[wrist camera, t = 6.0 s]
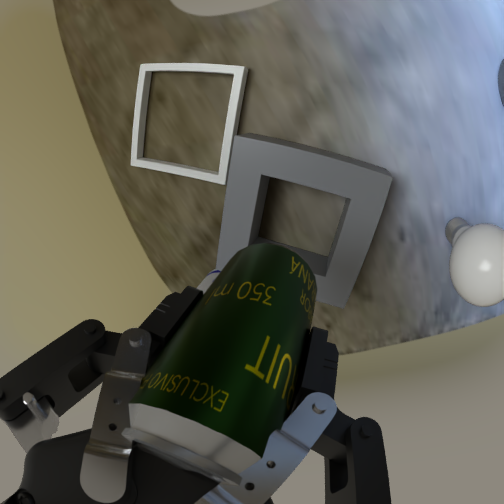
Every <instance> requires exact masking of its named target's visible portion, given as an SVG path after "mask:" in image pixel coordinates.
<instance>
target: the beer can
mask: <svg viewBox="0 0 504 504" xmlns="http://www.w3.org/2000/svg"><path fill="white" fill-rule="evenodd" d="M316 296H317V284H316V278H315V275H314V274H313V272H312V270H311V268H310V267H309V265H308V263H307V262H306V261H305V260H304V259H303V258H302V257H301V256H300V255H299V254H298V253H297V252H295V251H294V250H292V249H290V248H288V247H286V246H283V245H279V244H273V243H262V244H255V245H249V246H247V247H245V248H243V249H241V250H239V251H237V253H236V254H235V255H234V256H233V257H232V258H231V259H230V260H229V261H228V263H227V264H226V265H225V267H224V268H223V269H222V271H221V272H220V273H219V275H218V276H217V277H216V279H215V280H214V281H213V282H212V284H211V285H210V286H209V288H208V289H207V290H206V292H205V293H204V294H203V296H202V297H201V298H200V300H199V301H198V302H197V304H196V305H195V306H194V308H193V309H192V310H191V312H190V313H189V314H188V316H187V317H186V318H185V320H184V321H183V322H182V324H181V325H180V327H179V328H178V329H177V331H176V332H175V333H174V335H173V336H172V337H171V339H170V340H169V341H168V343H167V344H166V345H165V347H164V348H163V349H162V351H161V352H160V354H159V355H158V356H157V358H156V359H155V360H154V362H153V363H152V364H151V366H150V367H149V368H148V370H147V372H146V374H145V376H144V378H143V380H142V382H141V385H140V388H139V390H138V391H137V392H136V394H135V395H134V397H133V398H132V399H131V401H130V402H129V415H130V425H131V428H126V427H125V429H124V430H123V432H122V433H121V434H122V435H123V436H125V437H127V438H129V439H131V440H134V441H136V442H135V447H136V448H138V449H140V450H142V451H144V452H146V453H148V454H150V455H152V456H154V457H156V458H158V459H160V460H162V461H164V462H166V463H169V464H171V465H173V466H175V467H177V468H180V469H184V470H189V471H195V472H199V473H201V474H202V475H204V476H206V477H208V478H210V479H212V480H214V481H216V482H218V483H219V484H220V483H221V482H222V481H223V480H225V481H227V482H229V483H233V484H236V485H239V486H240V483H241V480H242V477H241V476H239V475H238V474H239V473H241V472H243V471H244V470H246V469H247V468H249V467H250V466H252V465H253V464H255V463H256V462H258V461H259V460H261V459H262V458H263V455H264V452H265V449H266V446H267V442H268V439H269V436H270V435H271V434H272V433H273V432H274V431H275V430H276V429H278V430H281V429H282V426H283V423H284V422H285V421H286V420H287V419H288V418H289V416H290V415H291V412H292V408H293V404H294V400H295V396H296V392H297V388H298V383H299V379H300V375H301V370H302V366H303V362H304V357H305V352H306V348H307V343H308V338H309V333H310V328H311V323H312V318H313V312H314V307H315V301H316ZM114 431H115V430H114ZM266 465H267V467H268V468H270V465H269V463H267V464H266ZM245 489H246V490H249V491H251V490H252V487H251V486H250V485H249V484H245Z"/></svg>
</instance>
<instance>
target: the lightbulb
mask: <svg viewBox="0 0 504 504" xmlns="http://www.w3.org/2000/svg"><path fill="white" fill-rule="evenodd" d="M445 234H446V237H447V239H448V240H449V242H450V243H451V244H452V251H451V255H450V261H449V270H450V277H451V280H452V283H453V286H454V288H455V289H456V291H457V292H458V294H459V295H460V296H461V297H462V298H463V299H464V300H465V301H467V302H468V303H470V304H472V305H475V306H480V307H487V306H492V305H495V304H497V303H499V302H501V301H502V300H504V230H503V229H502V228H500V227H498V226H496V225H493V224H488V223H482V224H476V225H474V226H470V225H469V224H468V223H467V222H466V221H465V220H464V219H462V218H459V217H457V218H453V219H452V220H450V221H449V223H448V224H447V226H446V230H445Z"/></svg>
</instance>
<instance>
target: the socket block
mask: <svg viewBox="0 0 504 504" xmlns="http://www.w3.org/2000/svg"><path fill="white" fill-rule="evenodd" d="M270 177H274V178H278V179H282V180H286V181H290V182H293V183H297V184H301V185H305V186H308V187H312V188H315V189H319V190H322V191H326V192H329V193H333V194H336V195H339V196H343V197H346V198H347V199H346V202H345V205H344V209H343V212H342V215H341V219H340V222H339V225H338V228H337V231H336V235H335V238H334V241H333V244H332V247H331V250H330V253H329V256H328V257H326V256H323V255H319V254H316V253H313V252H309V251H306V250H302V249H299V248H296V247H292V246H289V245H285V244H282V243H279V242H275V241H272V240H268V239H265V238H261V237H258V235H259V230H260V225H261V220H262V215H263V210H264V205H265V200H266V195H267V190H268V185H269V180H270ZM392 179H393V177H392V176H391V175H390V173H389V172H388V171H387V170H386V169H384V168H381V167H378V166H375V165H372V164H369V163H366V162H363V161H360V160H357V159H353V158H350V157H347V156H343V155H340V154H336V153H333V152H329V151H326V150H322V149H318V148H314V147H311V146H307V145H303V144H299V143H294V142H290V141H286V140H281V139H277V138H272V137H268V136H263V135H258V134H253V133H246V134H240V135H235V137H234V143H233V149H232V156H231V162H230V169H229V175H228V182H227V189H226V196H225V203H224V210H223V217H222V225H221V232H220V240H219V247H218V255H217V263H216V270H219V271H222V269H223V268H224V267H225V265H226V264H227V263H228V261H229V260H230V259H231V258H232V257H233V256H234V255H235V254H236V253H237V251H239V250H241V249H243V248H245V247H247V246H249V245H255V244H262V243H273V244H279V245H283V246H286V247H288V248H290V249H292V250H294V251H295V252H297V253H298V254H299V255H300V256H301V257H302V258H303V259H304V260H305V261H306V262H307V263H308V265H309V267H310V268H311V270H312V272H313V274H314V275H315V278H316V284H317V296H316V301H319V302H322V303H326V304H329V305H333V306H336V307H340V308H343V309H344V307H345V305H346V303H347V300H348V298H349V296H350V293H351V291H352V289H353V286H354V284H355V282H356V279H357V277H358V274H359V272H360V270H361V267H362V265H363V262H364V260H365V257H366V254H367V252H368V249H369V247H370V244H371V241H372V239H373V236H374V233H375V230H376V227H377V225H378V222H379V219H380V216H381V213H382V210H383V207H384V204H385V201H386V198H387V195H388V192H389V189H390V185H391V182H392Z"/></svg>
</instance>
